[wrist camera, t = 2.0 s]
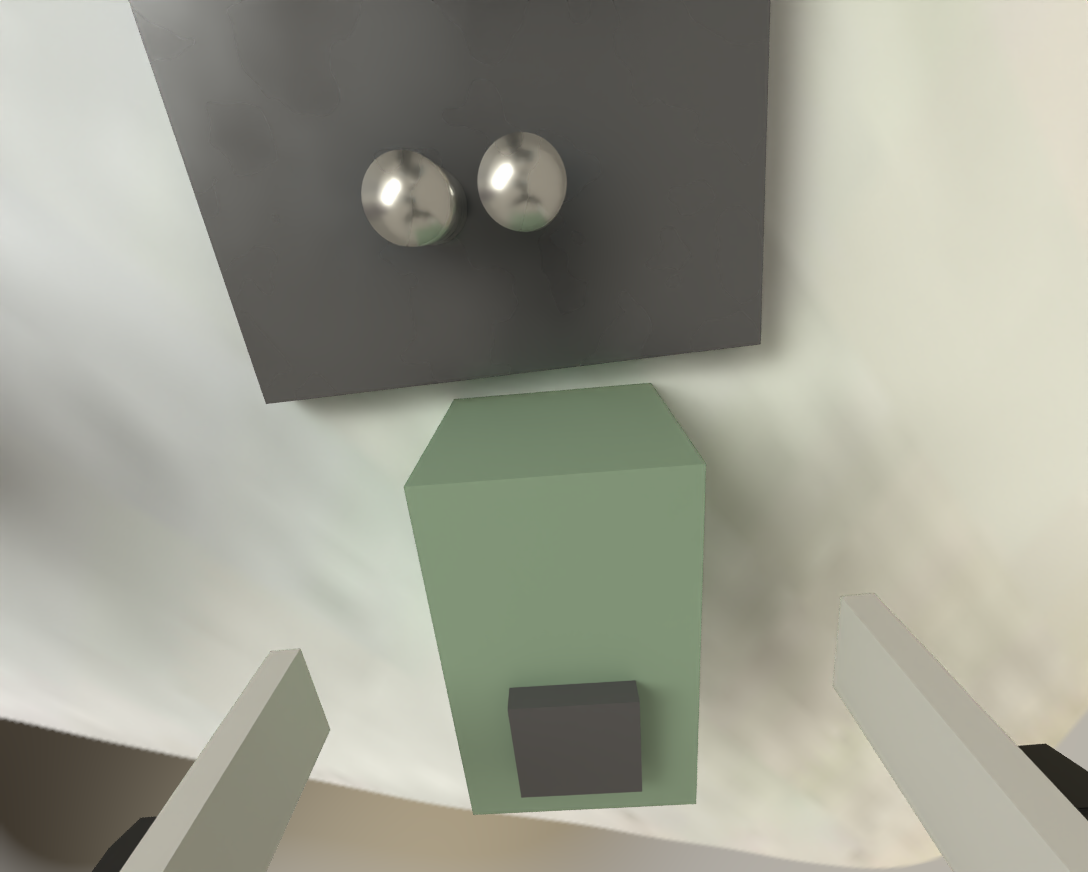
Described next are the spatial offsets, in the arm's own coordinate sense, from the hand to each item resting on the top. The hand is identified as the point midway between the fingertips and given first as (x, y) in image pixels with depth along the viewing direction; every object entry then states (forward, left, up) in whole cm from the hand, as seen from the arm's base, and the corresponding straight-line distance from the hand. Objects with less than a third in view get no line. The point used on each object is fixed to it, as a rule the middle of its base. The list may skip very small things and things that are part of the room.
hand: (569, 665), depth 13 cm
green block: (0, 0, -6) cm, 6 cm away
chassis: (-14, -1, -5) cm, 15 cm away
